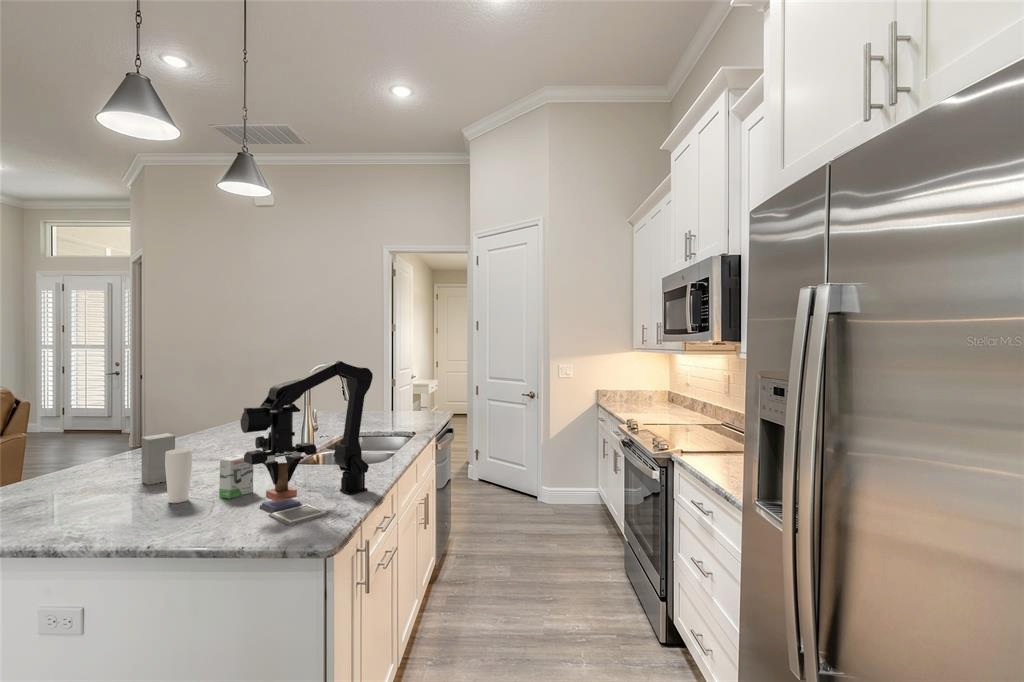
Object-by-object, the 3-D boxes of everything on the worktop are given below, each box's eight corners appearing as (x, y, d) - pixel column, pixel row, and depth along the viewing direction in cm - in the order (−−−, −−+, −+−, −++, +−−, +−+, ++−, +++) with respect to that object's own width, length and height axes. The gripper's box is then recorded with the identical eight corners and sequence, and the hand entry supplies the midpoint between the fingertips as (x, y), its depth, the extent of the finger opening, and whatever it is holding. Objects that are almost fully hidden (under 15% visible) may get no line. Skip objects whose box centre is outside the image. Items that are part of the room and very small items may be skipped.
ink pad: (288, 501, 151) (288, 496, 151) (302, 506, 146) (302, 501, 146) (259, 508, 145) (259, 502, 145) (273, 514, 139) (273, 508, 139)
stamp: (286, 492, 150) (286, 460, 150) (296, 496, 146) (296, 463, 146) (266, 497, 145) (266, 464, 145) (275, 501, 141) (276, 467, 141)
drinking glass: (196, 499, 153) (197, 449, 153) (173, 505, 146) (174, 454, 147) (182, 496, 155) (183, 447, 156) (159, 502, 149) (160, 451, 149)
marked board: (308, 506, 147) (308, 503, 147) (329, 514, 139) (329, 511, 139) (268, 516, 138) (268, 513, 138) (288, 525, 131) (288, 522, 131)
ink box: (230, 499, 153) (230, 460, 153) (218, 497, 155) (218, 458, 155) (254, 491, 161) (254, 454, 161) (242, 490, 163) (242, 453, 163)
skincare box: (168, 477, 178) (168, 432, 178) (176, 480, 174) (177, 434, 174) (139, 482, 171) (140, 435, 171) (147, 486, 167) (148, 438, 167)
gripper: (299, 422, 158) (298, 472, 158) (235, 429, 144) (235, 484, 143) (317, 425, 151) (317, 478, 151) (253, 434, 136) (252, 492, 136)
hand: (281, 483), depth 145 cm, fingers closed on stamp, 3 cm apart
